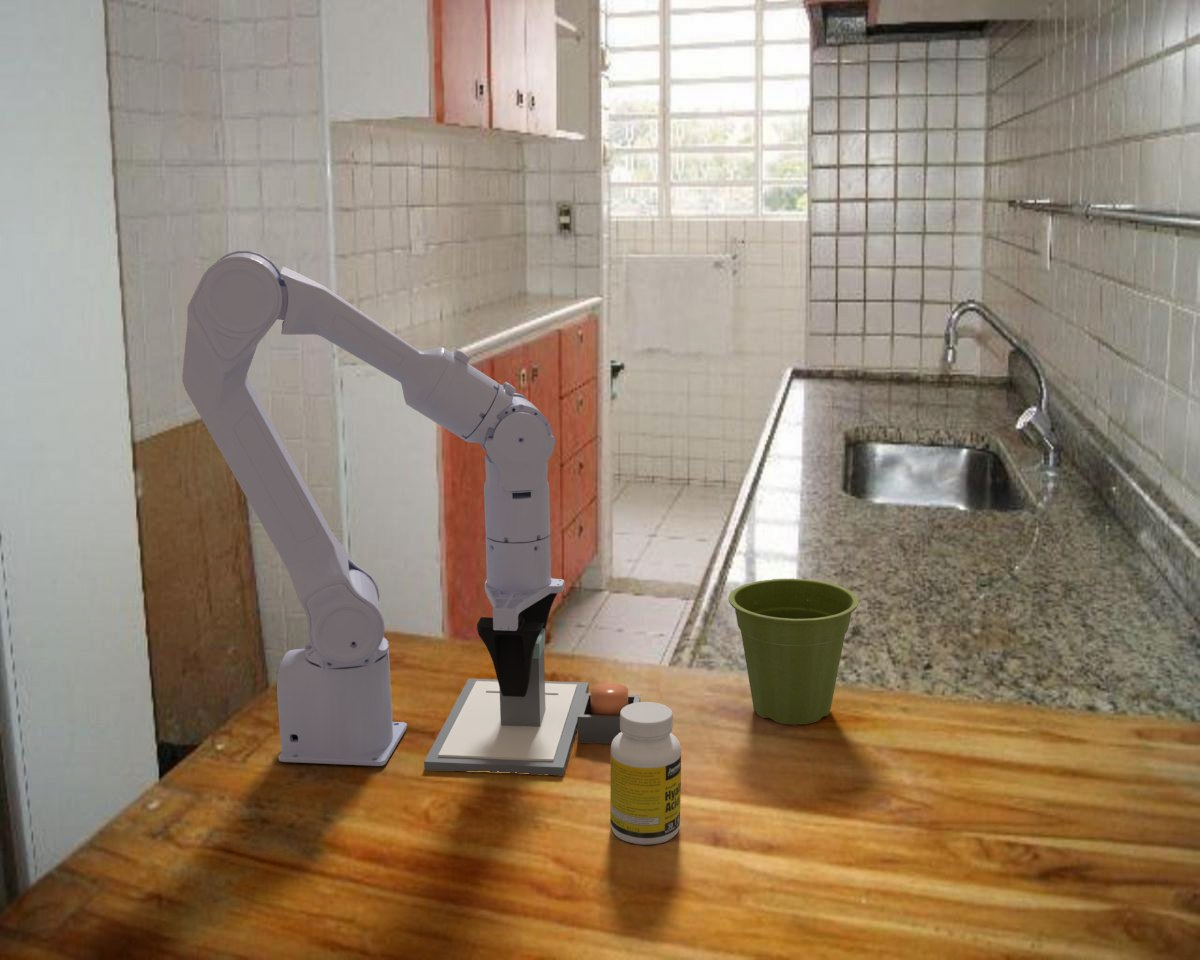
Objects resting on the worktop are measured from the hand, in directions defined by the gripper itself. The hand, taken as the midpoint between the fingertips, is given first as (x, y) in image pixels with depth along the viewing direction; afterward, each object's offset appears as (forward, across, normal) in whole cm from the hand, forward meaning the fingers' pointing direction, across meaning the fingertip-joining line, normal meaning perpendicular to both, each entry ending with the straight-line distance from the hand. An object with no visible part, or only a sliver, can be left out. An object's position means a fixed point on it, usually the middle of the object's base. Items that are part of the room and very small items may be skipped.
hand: (521, 677), depth 112 cm
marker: (+4, 0, 0) cm, 4 cm away
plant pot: (+5, +6, -24) cm, 26 cm away
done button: (+3, 0, -8) cm, 9 cm away
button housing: (+5, 0, -8) cm, 9 cm away
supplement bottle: (+5, -17, -12) cm, 22 cm away
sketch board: (+5, 0, +1) cm, 5 cm away
